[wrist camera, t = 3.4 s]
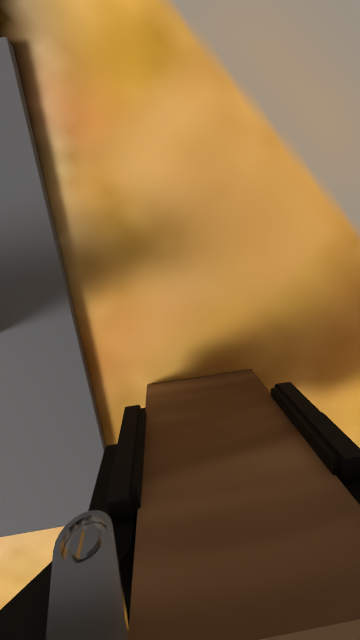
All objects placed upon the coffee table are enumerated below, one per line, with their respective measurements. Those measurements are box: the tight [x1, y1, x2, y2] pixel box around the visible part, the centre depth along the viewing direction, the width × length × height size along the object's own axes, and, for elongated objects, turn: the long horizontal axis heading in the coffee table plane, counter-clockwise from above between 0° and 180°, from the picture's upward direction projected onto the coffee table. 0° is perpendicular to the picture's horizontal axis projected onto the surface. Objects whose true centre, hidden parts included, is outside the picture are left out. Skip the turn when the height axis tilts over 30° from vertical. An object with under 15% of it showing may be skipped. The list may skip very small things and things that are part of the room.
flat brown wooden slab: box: [128, 369, 360, 640], centre depth 8 cm, size 2×5×10 cm, turn 97°
